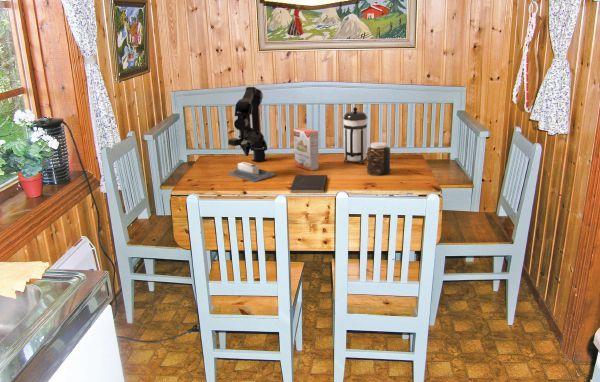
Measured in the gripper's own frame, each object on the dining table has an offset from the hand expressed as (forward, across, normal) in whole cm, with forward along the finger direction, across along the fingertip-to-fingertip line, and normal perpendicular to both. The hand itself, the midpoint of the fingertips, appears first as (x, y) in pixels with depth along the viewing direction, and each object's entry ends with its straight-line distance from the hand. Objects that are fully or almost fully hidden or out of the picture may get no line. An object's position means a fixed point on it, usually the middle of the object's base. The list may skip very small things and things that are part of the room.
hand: (247, 155), depth 289 cm
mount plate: (+10, 0, -3) cm, 10 cm away
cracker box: (+10, +28, -15) cm, 33 cm away
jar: (+10, +46, -50) cm, 68 cm away
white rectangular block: (+9, 0, 0) cm, 9 cm away
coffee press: (+10, +53, -27) cm, 61 cm away
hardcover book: (+11, +7, -38) cm, 40 cm away
